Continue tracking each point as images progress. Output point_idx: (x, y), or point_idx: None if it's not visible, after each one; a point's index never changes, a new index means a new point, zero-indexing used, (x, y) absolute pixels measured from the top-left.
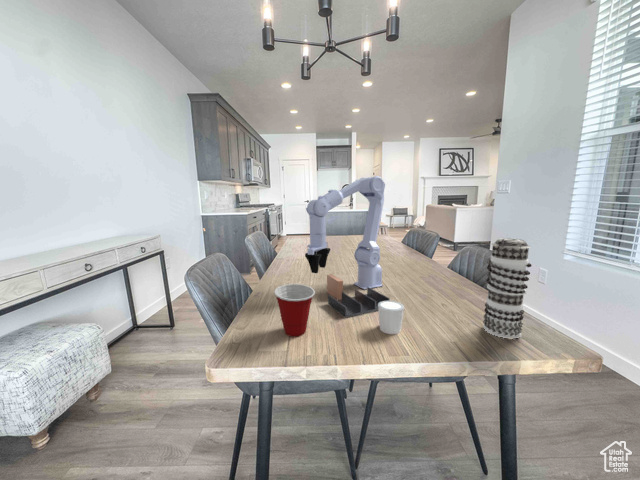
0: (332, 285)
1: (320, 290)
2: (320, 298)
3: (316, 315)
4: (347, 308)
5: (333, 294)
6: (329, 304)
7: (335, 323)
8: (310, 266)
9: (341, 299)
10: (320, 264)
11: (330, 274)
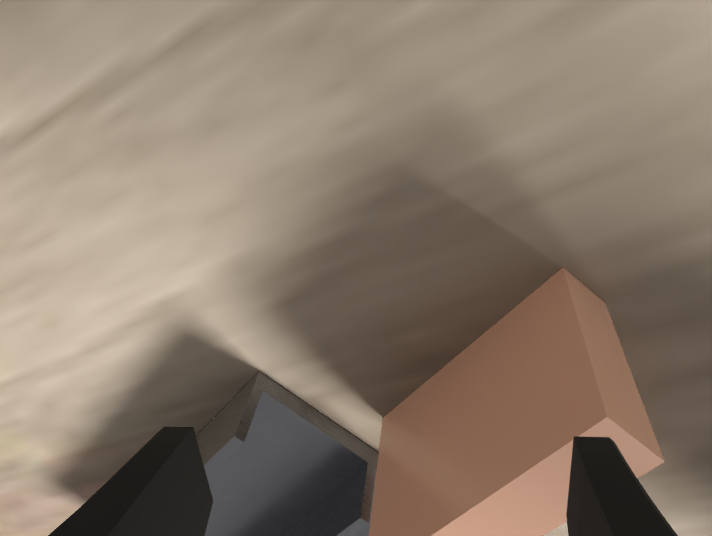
0: (466, 433)
1: (601, 174)
2: (350, 268)
3: (23, 361)
4: (213, 526)
5: (448, 378)
6: (241, 391)
7: (17, 487)
8: (79, 517)
9: (357, 462)
10: (586, 500)
11: (648, 452)
